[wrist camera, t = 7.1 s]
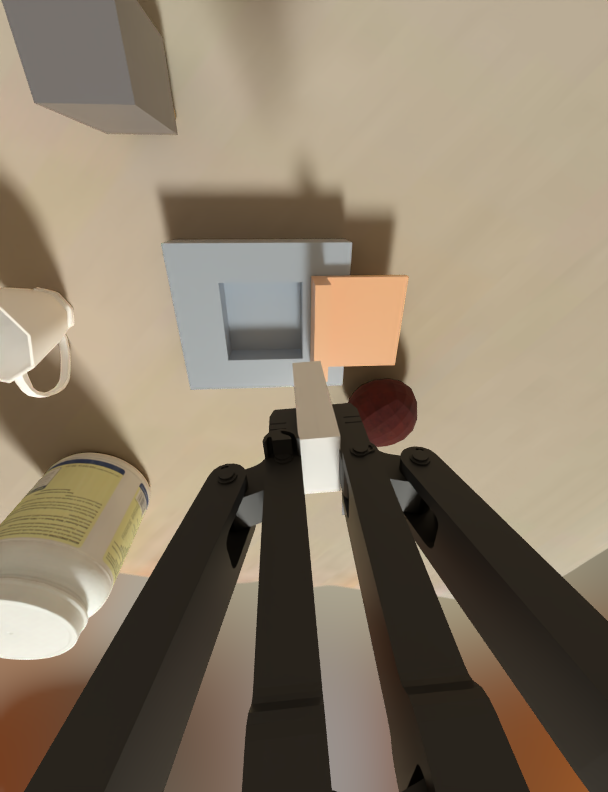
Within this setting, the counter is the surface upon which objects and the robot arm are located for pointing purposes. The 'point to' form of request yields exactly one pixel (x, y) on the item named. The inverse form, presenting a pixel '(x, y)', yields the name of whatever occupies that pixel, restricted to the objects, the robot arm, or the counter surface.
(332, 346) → the orange l-shaped bracket
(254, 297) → the socket block
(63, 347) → the cup
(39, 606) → the supplement tub
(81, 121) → the plug
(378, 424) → the dark brown ball
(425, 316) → the counter surface
